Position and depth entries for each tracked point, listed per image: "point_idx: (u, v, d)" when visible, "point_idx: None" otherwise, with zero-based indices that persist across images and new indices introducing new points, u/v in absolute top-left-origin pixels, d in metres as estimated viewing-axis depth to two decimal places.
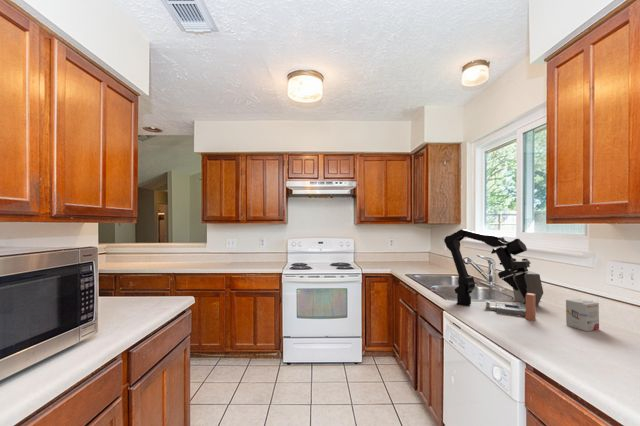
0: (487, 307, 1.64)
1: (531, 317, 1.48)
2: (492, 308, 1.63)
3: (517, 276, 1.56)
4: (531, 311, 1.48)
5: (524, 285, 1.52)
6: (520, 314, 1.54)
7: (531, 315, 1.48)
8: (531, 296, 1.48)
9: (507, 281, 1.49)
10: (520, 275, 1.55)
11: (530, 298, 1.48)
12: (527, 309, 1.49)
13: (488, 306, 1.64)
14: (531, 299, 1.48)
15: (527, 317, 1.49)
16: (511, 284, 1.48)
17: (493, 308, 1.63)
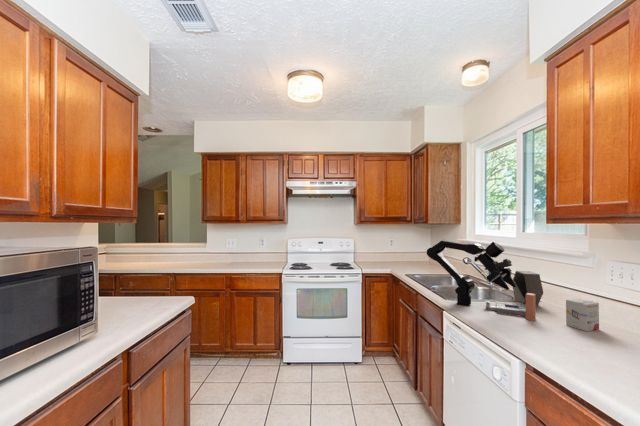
0: (487, 307, 1.64)
1: (531, 317, 1.48)
2: (492, 308, 1.63)
3: (503, 278, 1.63)
4: (531, 311, 1.48)
5: (513, 285, 1.59)
6: (520, 314, 1.54)
7: (531, 315, 1.48)
8: (531, 296, 1.48)
9: (497, 283, 1.55)
10: (506, 276, 1.62)
11: (530, 298, 1.48)
12: (527, 309, 1.49)
13: (488, 306, 1.64)
14: (531, 299, 1.48)
15: (527, 317, 1.49)
16: (501, 285, 1.54)
17: (493, 308, 1.63)
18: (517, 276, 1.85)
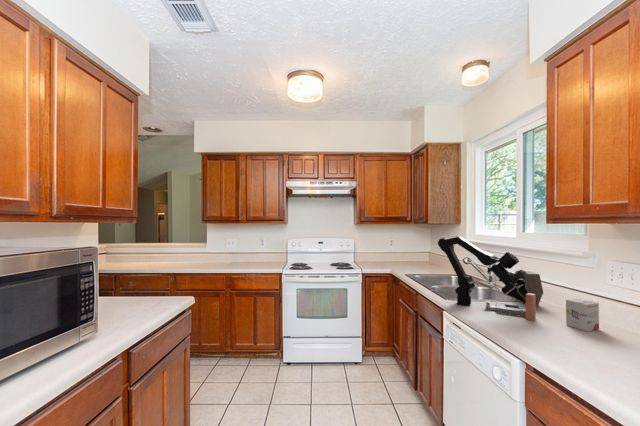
0: (487, 307, 1.64)
1: (531, 317, 1.48)
2: (492, 308, 1.63)
3: (518, 289, 1.58)
4: (531, 311, 1.48)
5: None
6: (520, 314, 1.54)
7: (531, 315, 1.48)
8: (531, 296, 1.48)
9: (512, 295, 1.50)
10: (521, 288, 1.57)
11: (530, 298, 1.48)
12: (527, 309, 1.49)
13: (488, 306, 1.64)
14: (531, 299, 1.48)
15: (527, 317, 1.49)
16: (517, 297, 1.49)
17: (493, 308, 1.63)
18: None
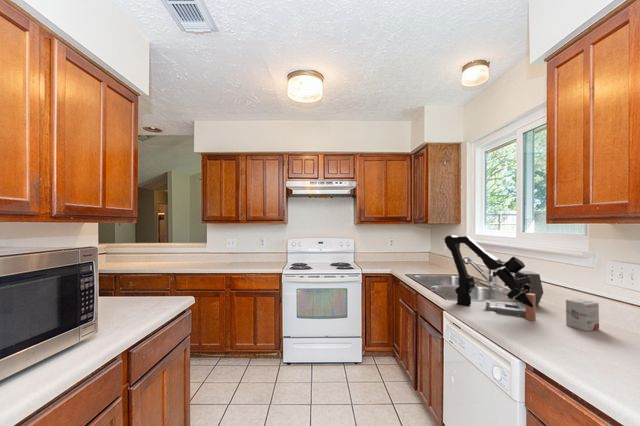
0: (487, 307, 1.64)
1: (531, 317, 1.47)
2: (492, 308, 1.63)
3: None
4: (531, 311, 1.48)
5: None
6: (520, 314, 1.54)
7: (531, 315, 1.47)
8: (531, 296, 1.48)
9: (520, 300, 1.50)
10: None
11: (530, 298, 1.48)
12: (527, 309, 1.49)
13: (488, 306, 1.64)
14: (531, 299, 1.48)
15: (527, 317, 1.49)
16: (524, 302, 1.49)
17: (493, 308, 1.63)
18: (517, 276, 1.85)
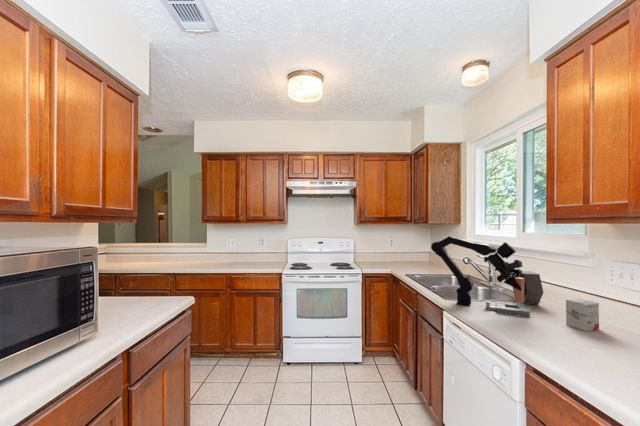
0: (487, 307, 1.64)
1: (519, 300, 1.54)
2: (492, 308, 1.63)
3: None
4: (519, 294, 1.54)
5: None
6: (520, 314, 1.54)
7: (519, 298, 1.54)
8: (520, 280, 1.54)
9: (509, 283, 1.56)
10: (515, 277, 1.60)
11: (519, 282, 1.54)
12: (515, 292, 1.55)
13: (488, 306, 1.64)
14: (520, 282, 1.54)
15: (516, 300, 1.55)
16: (513, 285, 1.55)
17: (493, 308, 1.63)
18: None
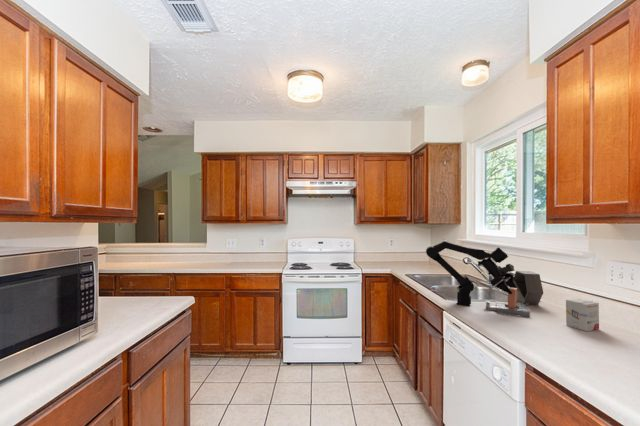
0: (487, 307, 1.64)
1: None
2: (492, 308, 1.63)
3: (506, 282, 1.68)
4: (512, 304, 1.60)
5: None
6: (520, 314, 1.54)
7: (512, 307, 1.59)
8: (513, 290, 1.59)
9: (500, 287, 1.60)
10: (509, 280, 1.67)
11: (512, 292, 1.60)
12: (509, 302, 1.61)
13: (488, 306, 1.64)
14: (513, 293, 1.59)
15: None
16: (504, 289, 1.59)
17: (493, 308, 1.63)
18: (517, 276, 1.85)
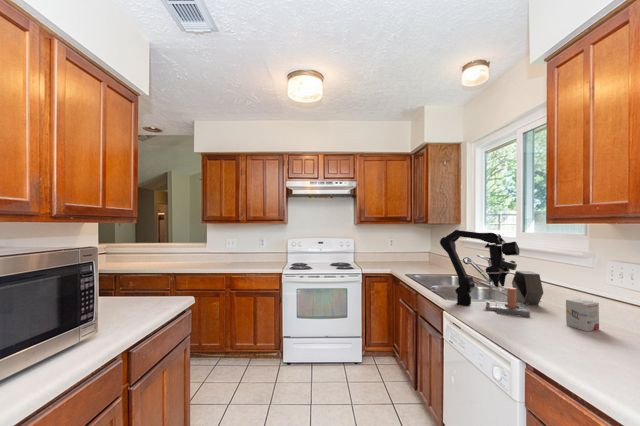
0: (487, 307, 1.64)
1: None
2: (492, 308, 1.63)
3: None
4: (512, 304, 1.60)
5: (502, 284, 1.62)
6: (520, 314, 1.54)
7: (512, 307, 1.60)
8: (512, 290, 1.60)
9: (491, 277, 1.57)
10: (501, 273, 1.63)
11: (511, 292, 1.60)
12: (508, 302, 1.61)
13: (488, 306, 1.64)
14: (512, 293, 1.60)
15: None
16: (493, 280, 1.56)
17: (493, 308, 1.63)
18: (517, 276, 1.85)
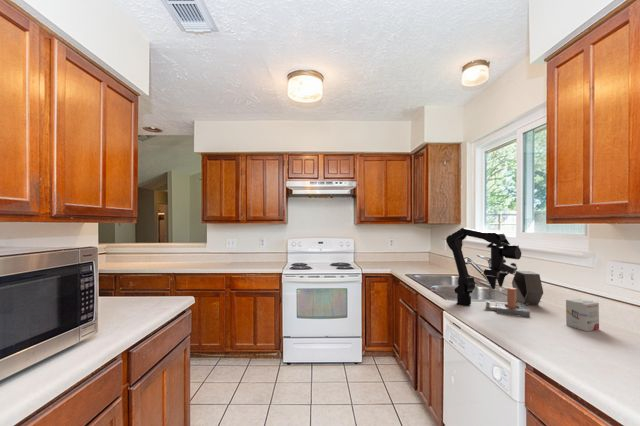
0: (487, 307, 1.64)
1: None
2: (492, 308, 1.63)
3: None
4: (512, 304, 1.60)
5: (500, 284, 1.61)
6: (520, 314, 1.54)
7: (512, 307, 1.60)
8: (512, 290, 1.60)
9: (488, 278, 1.55)
10: (501, 274, 1.61)
11: (511, 292, 1.60)
12: (508, 302, 1.61)
13: (488, 306, 1.64)
14: (512, 293, 1.60)
15: None
16: (490, 282, 1.55)
17: (493, 308, 1.63)
18: (517, 276, 1.85)
